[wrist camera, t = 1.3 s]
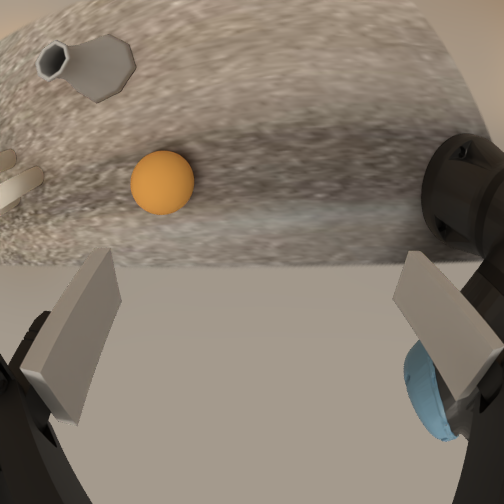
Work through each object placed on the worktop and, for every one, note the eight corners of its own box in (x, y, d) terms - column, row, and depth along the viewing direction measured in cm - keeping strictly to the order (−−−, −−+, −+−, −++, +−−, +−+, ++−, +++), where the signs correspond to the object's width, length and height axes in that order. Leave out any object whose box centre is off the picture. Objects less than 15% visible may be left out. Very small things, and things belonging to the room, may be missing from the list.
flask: (96, 115, 25) (43, 125, 17) (63, 70, 22) (6, 68, 14) (148, 68, 24) (109, 55, 15) (112, 23, 21) (65, 0, 12)
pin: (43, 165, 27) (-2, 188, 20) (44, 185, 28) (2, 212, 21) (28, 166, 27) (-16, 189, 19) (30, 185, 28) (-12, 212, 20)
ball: (199, 147, 28) (190, 158, 23) (196, 204, 31) (188, 226, 26) (141, 145, 27) (120, 156, 22) (141, 201, 30) (123, 223, 25)
